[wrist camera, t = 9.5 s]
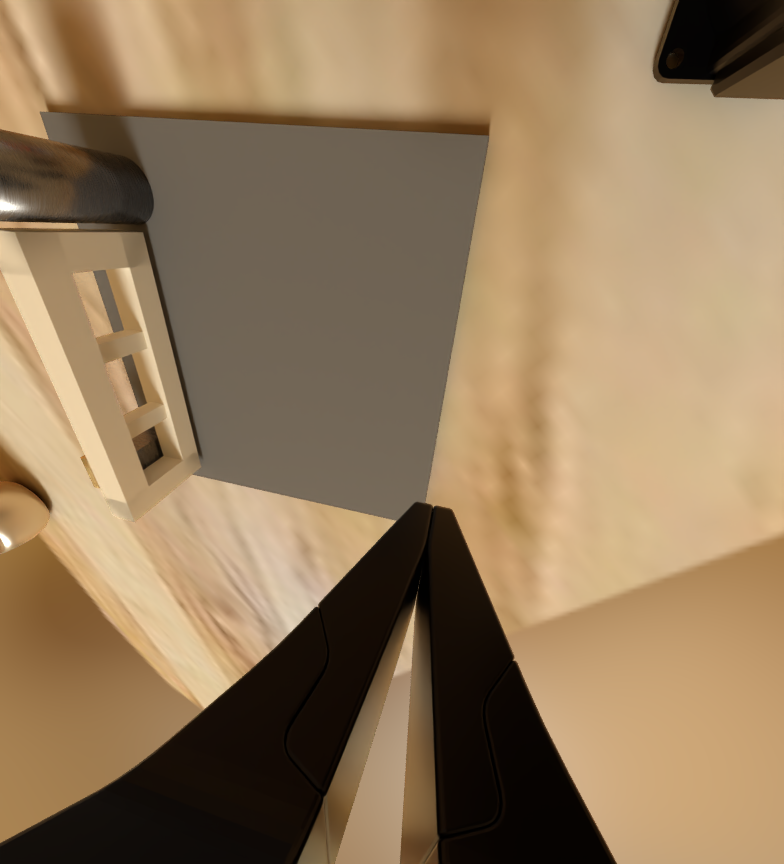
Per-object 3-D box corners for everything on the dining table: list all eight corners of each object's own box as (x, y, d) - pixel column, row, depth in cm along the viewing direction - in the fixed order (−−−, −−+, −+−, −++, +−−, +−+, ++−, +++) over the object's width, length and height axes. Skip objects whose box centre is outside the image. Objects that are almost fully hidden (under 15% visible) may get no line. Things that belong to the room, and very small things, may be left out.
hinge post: (102, 155, 18) (-105, 112, 12) (152, 158, 17) (-35, 116, 11) (121, 222, 19) (-53, 217, 13) (167, 227, 19) (10, 224, 13)
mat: (50, 114, 18) (39, 111, 17) (488, 138, 14) (489, 135, 14) (163, 463, 29) (158, 466, 28) (421, 521, 26) (421, 526, 25)
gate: (117, 229, 19) (-19, 227, 14) (143, 232, 18) (14, 232, 13) (182, 462, 27) (113, 516, 22) (201, 467, 27) (134, 522, 21)
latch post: (155, 415, 26) (80, 457, 21) (182, 421, 26) (113, 464, 21) (163, 441, 28) (94, 487, 23) (189, 447, 27) (125, 494, 22)
